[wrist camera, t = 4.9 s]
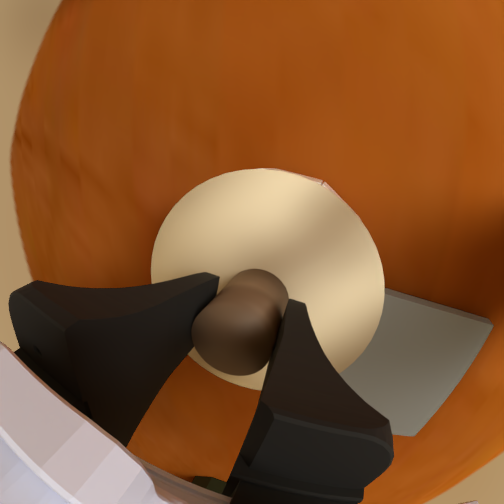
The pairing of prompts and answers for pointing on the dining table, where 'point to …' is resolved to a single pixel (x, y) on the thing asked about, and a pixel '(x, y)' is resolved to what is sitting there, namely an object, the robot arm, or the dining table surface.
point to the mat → (415, 359)
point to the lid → (271, 269)
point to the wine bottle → (210, 483)
